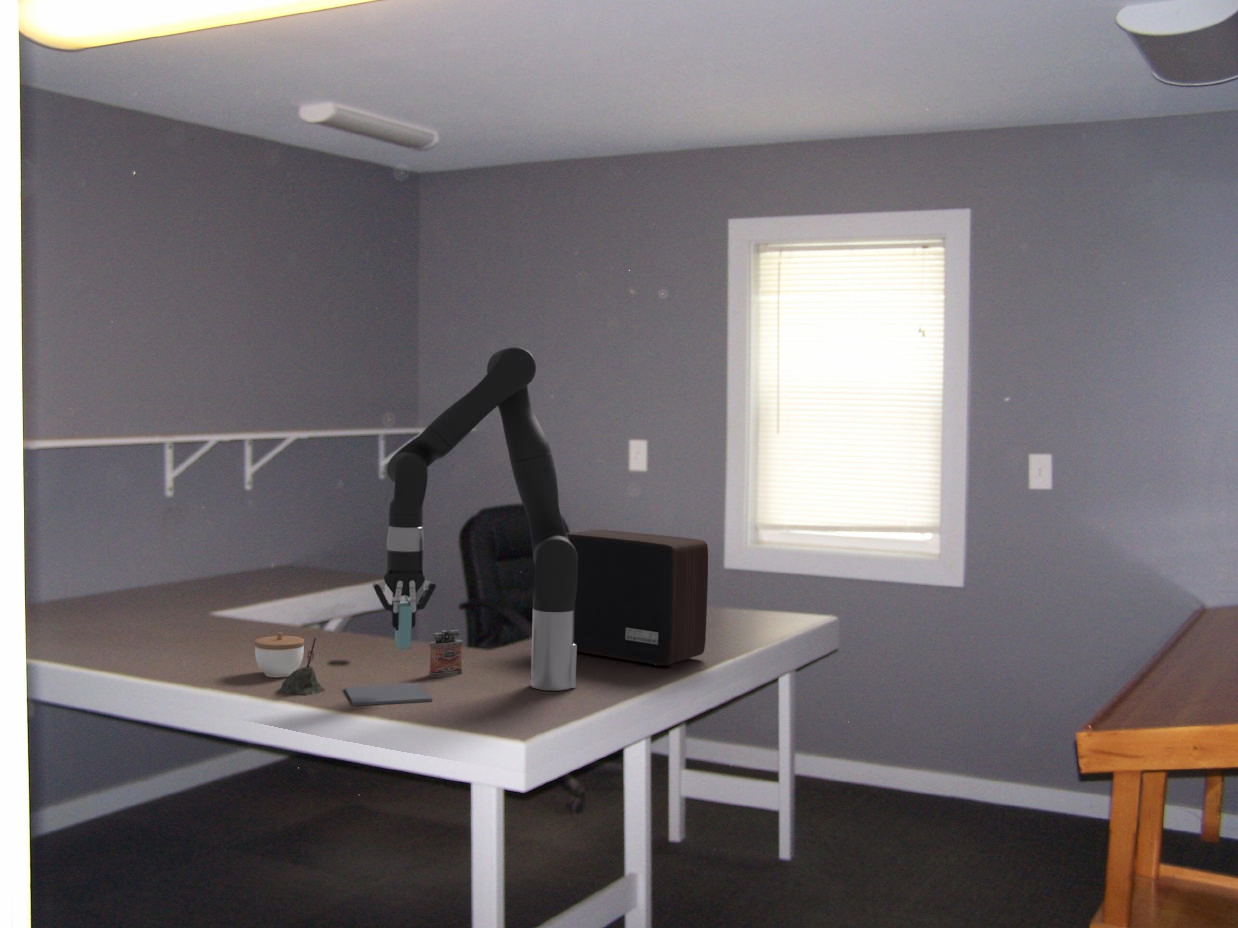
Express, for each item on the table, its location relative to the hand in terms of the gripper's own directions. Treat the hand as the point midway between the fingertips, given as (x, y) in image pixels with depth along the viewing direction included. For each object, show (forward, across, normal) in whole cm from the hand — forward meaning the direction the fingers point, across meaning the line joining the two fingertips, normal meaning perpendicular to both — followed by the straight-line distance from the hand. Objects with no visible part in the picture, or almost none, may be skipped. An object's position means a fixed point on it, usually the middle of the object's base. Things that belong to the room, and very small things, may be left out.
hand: (403, 629), depth 257 cm
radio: (+14, +62, +29) cm, 70 cm away
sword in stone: (+14, -20, +9) cm, 26 cm away
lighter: (+14, +13, +17) cm, 26 cm away
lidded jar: (+14, -23, +25) cm, 37 cm away
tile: (+4, 0, 0) cm, 4 cm away
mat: (+14, -3, 0) cm, 14 cm away
